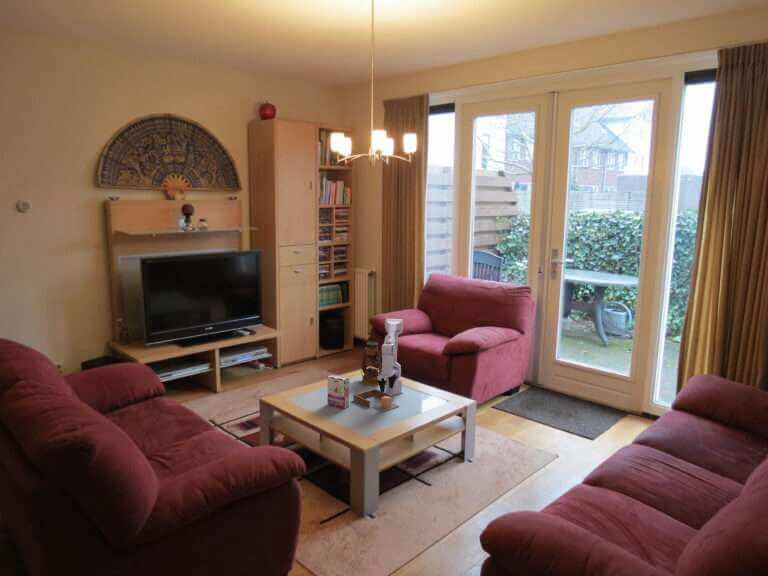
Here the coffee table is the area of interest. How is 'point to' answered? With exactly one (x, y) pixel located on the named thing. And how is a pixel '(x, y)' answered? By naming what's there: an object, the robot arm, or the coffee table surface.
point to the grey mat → (385, 408)
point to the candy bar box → (338, 391)
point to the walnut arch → (360, 396)
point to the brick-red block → (386, 402)
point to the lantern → (371, 373)
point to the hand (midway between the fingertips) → (386, 389)
